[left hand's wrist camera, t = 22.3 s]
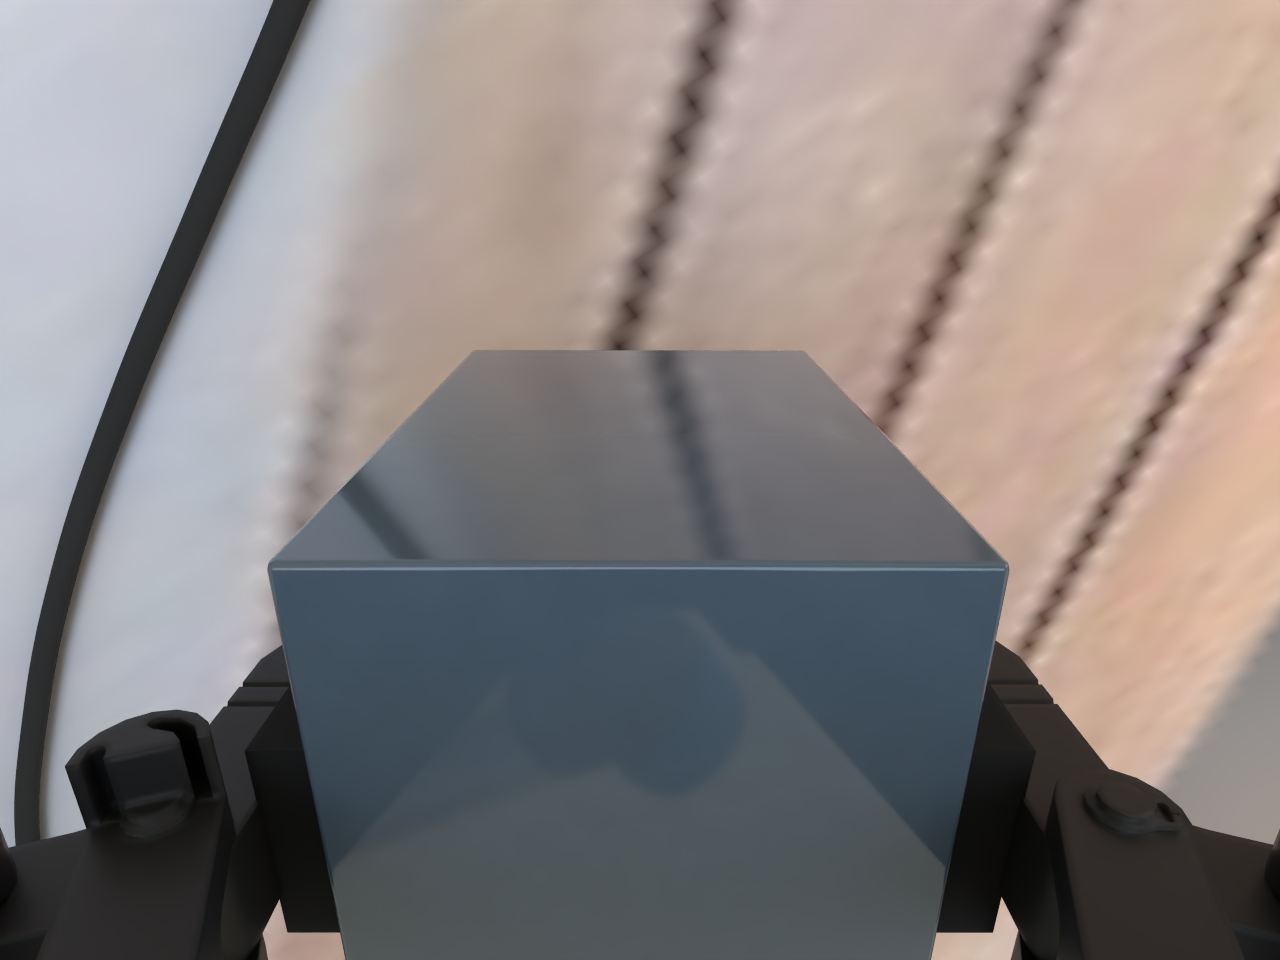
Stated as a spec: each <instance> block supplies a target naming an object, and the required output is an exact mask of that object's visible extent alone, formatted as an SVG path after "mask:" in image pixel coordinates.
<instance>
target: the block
mask: <svg viewBox="0 0 1280 960" xmlns="http://www.w3.org/2000/svg"><path fill="white" fill-rule="evenodd" d="M268 575H269V580H270V585H271V590H272V595H273V600H274V605H275V610H276V615H277V620H278V625H279V630H280V635H281V640H282V645H283V650H284V655H285V660H286V665H287V670H288V675H289V680H290V685H291V690H292V695H293V700H294V705H295V710H296V715H297V720H298V725H299V730H300V735H301V740H302V745H303V750H304V754H305V759H306V764H307V769H308V774H309V779H310V784H311V789H312V794H313V799H314V804H315V809H316V814H317V819H318V824H319V829H320V834H321V839H322V844H323V849H324V854H325V859H326V864H327V869H328V874H329V879H330V884H331V889H332V894H333V899H334V904H335V909H336V914H337V919H338V924H339V929H340V934H341V939H342V944H343V949H344V954H345V959H346V960H931V956H932V951H933V946H934V941H935V937H936V932H937V927H938V922H939V917H940V912H941V907H942V902H943V897H944V892H945V887H946V882H947V877H948V872H949V867H950V862H951V857H952V852H953V847H954V842H955V837H956V832H957V828H958V823H959V818H960V813H961V808H962V803H963V798H964V793H965V788H966V783H967V778H968V773H969V768H970V763H971V758H972V753H973V748H974V743H975V738H976V733H977V728H978V723H979V719H980V714H981V709H982V704H983V699H984V694H985V689H986V684H987V679H988V674H989V669H990V664H991V659H992V654H993V649H994V644H995V639H996V634H997V629H998V624H999V619H1000V615H1001V610H1002V605H1003V600H1004V595H1005V590H1006V585H1007V580H1008V575H1009V565H1008V562H1007V561H1006V560H1005V559H1004V558H1003V557H1002V556H1001V555H1000V553H999V552H998V551H997V550H996V549H995V548H994V547H993V546H992V545H991V544H990V543H989V542H988V541H987V540H986V539H985V538H984V537H983V536H982V535H981V534H980V533H979V532H978V531H977V530H976V529H975V528H974V526H973V525H972V524H971V523H970V522H969V521H968V520H967V519H966V518H965V517H964V516H963V515H962V514H961V513H960V512H959V511H958V510H957V509H956V508H955V507H954V506H953V505H952V504H951V503H950V502H949V501H948V500H947V498H946V497H945V496H944V495H943V494H942V493H941V492H940V491H939V490H938V489H937V488H936V487H935V486H934V485H933V484H932V483H931V482H930V481H929V480H928V479H927V478H926V477H925V476H924V475H923V474H922V473H921V471H920V470H919V469H918V468H917V467H916V466H915V465H914V464H913V463H912V462H911V461H910V460H909V459H908V458H907V457H906V456H905V455H904V454H903V453H902V452H901V451H900V450H899V449H898V448H897V447H896V446H895V445H894V443H893V442H892V441H891V440H890V439H889V438H888V437H887V436H886V435H885V434H884V433H883V432H882V431H881V430H880V429H879V428H878V427H877V426H876V425H875V424H874V423H873V422H872V421H871V420H870V419H869V418H868V416H867V415H866V414H865V413H864V412H863V411H862V410H861V409H860V408H859V407H858V406H857V405H856V404H855V403H854V402H853V401H852V400H851V399H850V398H849V397H848V396H847V395H846V394H845V393H844V392H843V391H842V390H841V388H840V387H839V386H838V385H837V384H836V383H835V382H834V381H833V380H832V379H831V378H830V377H829V376H828V375H827V374H826V373H825V372H824V371H823V370H822V369H821V368H820V367H819V366H818V365H817V364H816V363H815V361H814V360H813V359H812V358H811V357H810V356H809V355H808V354H807V353H806V352H804V351H561V350H475V351H473V352H472V353H471V354H470V355H469V356H468V357H467V358H466V359H465V360H464V361H463V362H462V363H461V364H460V365H459V366H458V367H457V368H456V369H455V370H454V371H453V372H452V373H451V374H450V375H449V376H448V377H447V378H446V379H445V381H444V382H443V383H442V384H441V385H440V386H439V387H438V388H437V389H436V390H435V391H434V392H433V393H432V394H431V395H430V396H429V397H428V398H427V399H426V400H425V401H424V402H423V403H422V404H421V405H420V406H419V407H418V408H417V409H416V410H415V411H414V413H413V414H412V415H411V416H410V417H409V418H408V419H407V420H406V421H405V422H404V423H403V424H402V425H401V426H400V427H399V428H398V429H397V430H396V431H395V432H394V433H393V434H392V435H391V436H390V437H389V438H388V439H387V440H386V441H385V442H384V443H383V445H382V446H381V447H380V448H379V449H378V450H377V451H376V452H375V453H374V454H373V455H372V456H371V457H370V458H369V459H368V460H367V461H366V462H365V463H364V464H363V465H362V466H361V467H360V468H359V469H358V470H357V471H356V472H355V473H354V474H353V475H352V477H351V478H350V479H349V480H348V481H347V482H346V483H345V484H344V485H343V486H342V487H341V488H340V489H339V490H338V491H337V492H336V493H335V494H334V495H333V496H332V497H331V498H330V499H329V500H328V501H327V502H326V503H325V504H324V505H323V506H322V508H321V509H320V510H319V511H318V512H317V513H316V514H315V515H314V516H313V517H312V518H311V519H310V520H309V521H308V522H307V523H306V524H305V525H304V526H303V527H302V528H301V529H300V530H299V531H298V532H297V533H296V534H295V535H294V536H293V537H292V538H291V540H290V541H289V542H288V543H287V544H286V545H285V546H284V547H283V548H282V549H281V550H280V551H279V552H278V553H277V554H276V555H275V556H274V557H273V558H272V559H271V560H270V561H269V564H268Z"/></svg>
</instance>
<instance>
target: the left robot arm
mask: <svg viewBox="0 0 1280 960" xmlns="http://www.w3.org/2000/svg"><path fill="white" fill-rule="evenodd" d="M309 1H310V0H273V3H272V5H271V8H270V10H269V13H268V15H267V18H266V20H265V23H264V25H263V28H262V30H261V32H260V35H259V37H258V40H257V42H256V45H255V47H254V49H253V52H252V54H251V56H250V59H249V61H248V64H247V66H246V68H245V71H244V73H243V75H242V78H241V80H240V82H239V85H238V87H237V89H236V92H235V94H234V96H233V99H232V101H231V103H230V106H229V108H228V110H227V113H226V115H225V117H224V120H223V122H222V124H221V127H220V129H219V131H218V134H217V136H216V138H215V141H214V143H213V145H212V148H211V150H210V152H209V155H208V157H207V159H206V162H205V164H204V167H203V169H202V171H201V174H200V176H199V178H198V181H197V183H196V186H195V188H194V190H193V193H192V195H191V198H190V200H189V202H188V205H187V207H186V210H185V212H184V214H183V217H182V219H181V222H180V224H179V226H178V229H177V231H176V233H175V236H174V238H173V240H172V243H171V245H170V247H169V250H168V252H167V255H166V257H165V259H164V262H163V264H162V266H161V269H160V271H159V273H158V276H157V278H156V280H155V283H154V285H153V287H152V290H151V292H150V294H149V297H148V299H147V301H146V304H145V306H144V309H143V311H142V313H141V316H140V318H139V321H138V323H137V325H136V328H135V330H134V333H133V335H132V338H131V340H130V343H129V345H128V348H127V350H126V353H125V355H124V358H123V360H122V363H121V365H120V368H119V370H118V373H117V376H116V378H115V381H114V384H113V386H112V389H111V392H110V394H109V397H108V400H107V402H106V405H105V408H104V410H103V413H102V416H101V419H100V421H99V424H98V427H97V429H96V432H95V435H94V437H93V440H92V443H91V446H90V448H89V451H88V454H87V457H86V460H85V462H84V465H83V468H82V471H81V474H80V477H79V480H78V483H77V486H76V489H75V492H74V495H73V498H72V501H71V504H70V507H69V510H68V513H67V517H66V520H65V523H64V526H63V530H62V533H61V537H60V540H59V544H58V547H57V551H56V555H55V558H54V562H53V566H52V569H51V573H50V577H49V581H48V585H47V589H46V593H45V597H44V601H43V605H42V609H41V613H40V618H39V622H38V627H37V631H36V636H35V641H34V646H33V651H32V657H31V662H30V668H29V674H28V681H27V688H26V695H25V702H24V710H23V718H22V726H21V734H20V742H19V750H18V759H17V769H16V780H15V800H14V821H15V841H16V846H14V847H10V848H8V846H7V843H6V841H5V838H4V836H3V833H2V831H1V828H0V960H268V957H267V952H266V946H265V941H264V938H263V934H262V933H263V931H264V929H265V927H266V925H267V923H268V921H269V919H270V917H271V915H272V913H273V911H274V909H275V907H276V905H277V903H278V901H279V899H280V903H281V907H282V911H283V915H284V919H285V924H286V928H287V932H340V929H339V924H338V919H337V914H336V909H335V904H334V899H333V894H332V889H331V884H330V879H329V874H328V869H327V864H326V859H325V854H324V849H323V844H322V839H321V834H320V829H319V824H318V819H317V814H316V809H315V804H314V799H313V794H312V789H311V784H310V779H309V774H308V769H307V764H306V759H305V754H304V750H303V745H302V740H301V735H300V730H299V725H298V720H297V715H296V710H295V705H294V700H293V695H292V690H291V685H290V680H289V675H288V670H287V665H286V660H285V655H284V650H283V645H281V646H280V647H279V648H277V649H276V650H274V651H273V652H271V653H270V654H268V655H267V656H265V657H264V658H262V659H261V660H260V661H259V663H258V664H257V665H256V666H255V668H254V669H253V670H252V672H251V673H250V674H249V675H248V677H247V678H246V679H245V680H244V682H243V687H239V688H238V689H237V691H236V692H235V693H234V694H233V696H232V697H231V698H230V699H229V701H228V706H227V707H223V708H222V710H221V711H220V712H219V713H218V715H217V716H216V717H215V718H214V720H213V721H212V722H211V724H210V725H209V722H208V721H206V720H205V719H204V718H203V717H201V716H200V715H199V714H197V713H193V712H188V711H182V710H169V711H158V712H151V713H148V714H144V715H141V716H137V717H134V718H131V719H127V720H125V721H122V722H120V723H118V724H116V725H114V726H112V727H110V728H108V729H106V730H104V731H102V732H100V733H98V734H97V735H96V736H94V737H93V738H92V739H90V740H89V741H88V742H86V743H85V744H84V745H82V746H81V747H80V748H79V749H78V750H77V751H76V752H75V753H74V755H73V756H72V757H71V759H70V760H69V761H68V763H67V764H66V765H65V768H66V771H67V774H68V777H69V780H70V783H71V786H72V788H73V791H74V794H75V797H76V800H77V803H78V806H79V808H80V811H81V814H82V817H83V820H84V823H85V826H86V829H84V830H81V831H78V832H74V833H70V834H66V835H62V836H57V837H53V838H49V839H44V840H40V830H39V789H40V775H41V765H42V756H43V748H44V741H45V733H46V726H47V719H48V712H49V705H50V698H51V691H52V685H53V678H54V672H55V667H56V661H57V656H58V651H59V646H60V641H61V636H62V632H63V628H64V623H65V619H66V615H67V611H68V607H69V603H70V599H71V595H72V591H73V588H74V584H75V580H76V577H77V573H78V569H79V566H80V562H81V559H82V555H83V552H84V548H85V545H86V541H87V538H88V535H89V532H90V528H91V525H92V522H93V519H94V516H95V513H96V510H97V507H98V504H99V501H100V498H101V495H102V493H103V490H104V487H105V484H106V481H107V479H108V476H109V473H110V470H111V468H112V465H113V462H114V460H115V457H116V454H117V452H118V449H119V447H120V444H121V441H122V439H123V436H124V433H125V431H126V428H127V426H128V423H129V420H130V418H131V415H132V413H133V410H134V408H135V405H136V402H137V400H138V397H139V395H140V392H141V390H142V387H143V385H144V382H145V380H146V377H147V375H148V372H149V370H150V367H151V365H152V362H153V360H154V358H155V355H156V353H157V350H158V348H159V346H160V343H161V341H162V339H163V336H164V334H165V332H166V329H167V327H168V325H169V322H170V320H171V318H172V316H173V313H174V311H175V309H176V306H177V304H178V302H179V300H180V297H181V295H182V293H183V291H184V288H185V286H186V284H187V282H188V279H189V277H190V275H191V273H192V270H193V268H194V266H195V263H196V261H197V259H198V257H199V254H200V252H201V250H202V248H203V245H204V243H205V241H206V238H207V236H208V234H209V232H210V229H211V227H212V225H213V222H214V220H215V218H216V215H217V213H218V211H219V208H220V206H221V204H222V201H223V199H224V197H225V195H226V192H227V190H228V188H229V185H230V183H231V181H232V179H233V176H234V174H235V172H236V169H237V167H238V165H239V163H240V160H241V158H242V156H243V154H244V151H245V149H246V147H247V145H248V142H249V140H250V138H251V136H252V133H253V131H254V129H255V127H256V124H257V122H258V120H259V118H260V115H261V113H262V111H263V109H264V106H265V104H266V102H267V100H268V97H269V95H270V93H271V91H272V88H273V86H274V84H275V81H276V79H277V77H278V75H279V72H280V70H281V68H282V65H283V63H284V61H285V58H286V56H287V54H288V51H289V49H290V47H291V44H292V42H293V40H294V37H295V35H296V32H297V30H298V28H299V25H300V23H301V20H302V18H303V16H304V13H305V11H306V8H307V6H308V4H309ZM1001 896H1002V898H1003V900H1004V902H1005V904H1006V906H1007V908H1008V910H1009V912H1010V914H1011V916H1012V918H1013V920H1014V922H1015V924H1016V926H1017V928H1018V934H1017V938H1016V941H1015V945H1014V949H1013V953H1012V957H1011V960H1280V830H1279V832H1278V835H1277V837H1276V840H1275V842H1274V845H1271V844H1267V843H1263V842H1258V841H1254V840H1250V839H1245V838H1241V837H1237V836H1232V835H1228V834H1224V833H1219V832H1215V831H1211V830H1207V829H1203V828H1200V827H1196V826H1193V825H1192V824H1191V822H1190V821H1189V819H1188V818H1187V816H1186V815H1185V813H1184V812H1183V810H1182V809H1181V808H1180V807H1179V806H1178V805H1177V804H1175V803H1174V802H1173V801H1172V800H1171V799H1170V798H1168V797H1167V796H1166V795H1165V794H1164V793H1163V792H1161V791H1159V790H1158V789H1156V788H1154V787H1152V786H1150V785H1149V784H1147V783H1145V782H1143V781H1141V780H1139V779H1138V778H1135V777H1132V776H1129V775H1126V774H1123V773H1120V772H1117V771H1114V770H1111V769H1108V767H1107V766H1106V765H1105V764H1104V762H1103V761H1102V760H1101V759H1100V757H1099V756H1098V755H1097V754H1096V752H1095V751H1094V750H1093V749H1092V747H1091V746H1090V745H1089V744H1088V742H1087V741H1086V740H1085V738H1084V737H1083V736H1082V735H1081V733H1080V732H1079V731H1078V730H1077V728H1076V727H1075V726H1074V725H1073V723H1072V722H1071V721H1070V720H1069V718H1068V717H1067V716H1066V715H1065V713H1064V712H1063V711H1062V710H1061V708H1060V707H1059V706H1058V704H1054V703H1053V698H1052V697H1051V696H1050V694H1049V693H1048V692H1047V691H1046V689H1045V688H1044V687H1043V686H1042V685H1039V684H1038V679H1037V678H1036V677H1035V675H1034V674H1033V673H1032V672H1031V670H1030V669H1029V668H1028V667H1027V665H1026V664H1025V663H1024V662H1023V660H1022V659H1021V658H1020V657H1019V656H1018V655H1016V654H1015V653H1013V652H1012V651H1010V650H1009V649H1007V648H1006V647H1004V646H1003V645H1001V644H1000V643H998V642H997V641H995V644H994V649H993V654H992V659H991V664H990V669H989V674H988V679H987V684H986V689H985V694H984V699H983V704H982V709H981V714H980V719H979V723H978V728H977V733H976V738H975V743H974V748H973V753H972V758H971V763H970V768H969V773H968V778H967V783H966V788H965V793H964V798H963V803H962V808H961V813H960V818H959V823H958V828H957V832H956V837H955V842H954V847H953V852H952V857H951V862H950V867H949V872H948V877H947V882H946V887H945V892H944V897H943V902H942V907H941V912H940V917H939V922H938V927H937V932H936V933H993V930H994V926H995V922H996V917H997V913H998V909H999V905H1000V901H1001Z"/></svg>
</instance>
